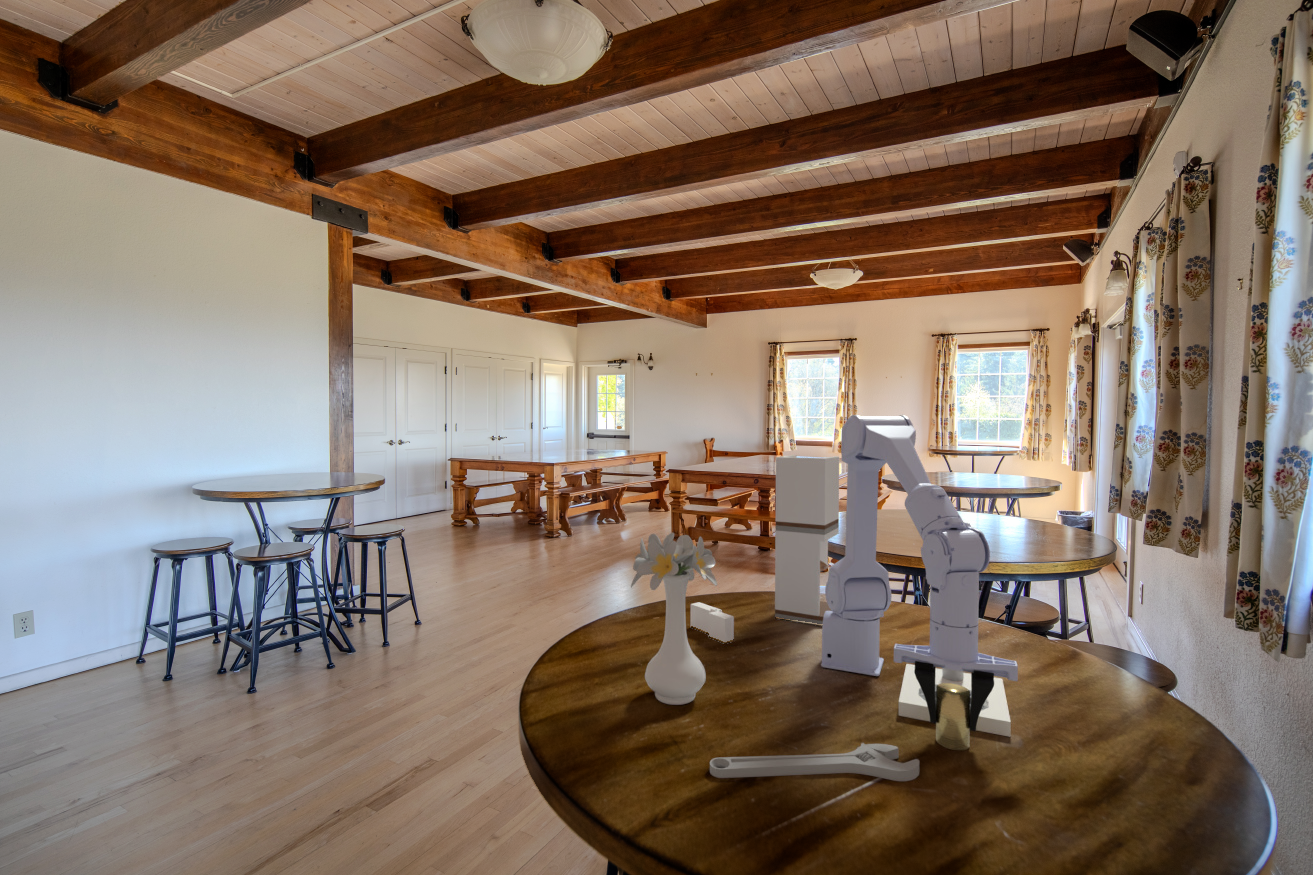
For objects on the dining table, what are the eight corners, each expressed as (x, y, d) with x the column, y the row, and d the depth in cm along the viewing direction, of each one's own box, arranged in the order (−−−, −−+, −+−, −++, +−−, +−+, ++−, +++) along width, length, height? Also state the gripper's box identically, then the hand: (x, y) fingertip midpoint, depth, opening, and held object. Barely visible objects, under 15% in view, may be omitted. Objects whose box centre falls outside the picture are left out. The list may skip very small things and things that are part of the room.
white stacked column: (823, 626, 129) (825, 458, 128) (774, 618, 134) (775, 457, 134) (838, 612, 138) (839, 456, 138) (791, 605, 144) (792, 455, 143)
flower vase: (706, 670, 105) (707, 523, 105) (723, 722, 87) (724, 544, 86) (629, 671, 104) (630, 524, 104) (630, 724, 86) (631, 544, 86)
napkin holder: (681, 625, 131) (681, 598, 131) (735, 625, 131) (735, 598, 131) (683, 650, 116) (683, 620, 116) (743, 651, 116) (744, 620, 116)
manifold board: (898, 715, 89) (898, 680, 89) (906, 675, 103) (906, 645, 103) (1010, 736, 83) (1011, 699, 83) (1002, 691, 97) (1002, 659, 97)
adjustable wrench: (710, 782, 73) (710, 767, 73) (706, 754, 79) (706, 740, 79) (924, 784, 72) (924, 769, 72) (903, 755, 79) (903, 741, 79)
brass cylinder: (935, 745, 80) (935, 692, 80) (936, 732, 84) (936, 680, 84) (969, 752, 79) (970, 698, 79) (969, 738, 82) (969, 686, 82)
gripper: (892, 621, 81) (891, 725, 81) (1020, 638, 74) (1019, 750, 75) (896, 607, 87) (895, 703, 87) (1015, 621, 81) (1014, 725, 81)
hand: (952, 723), depth 81 cm, fingers closed on brass cylinder, 4 cm apart
